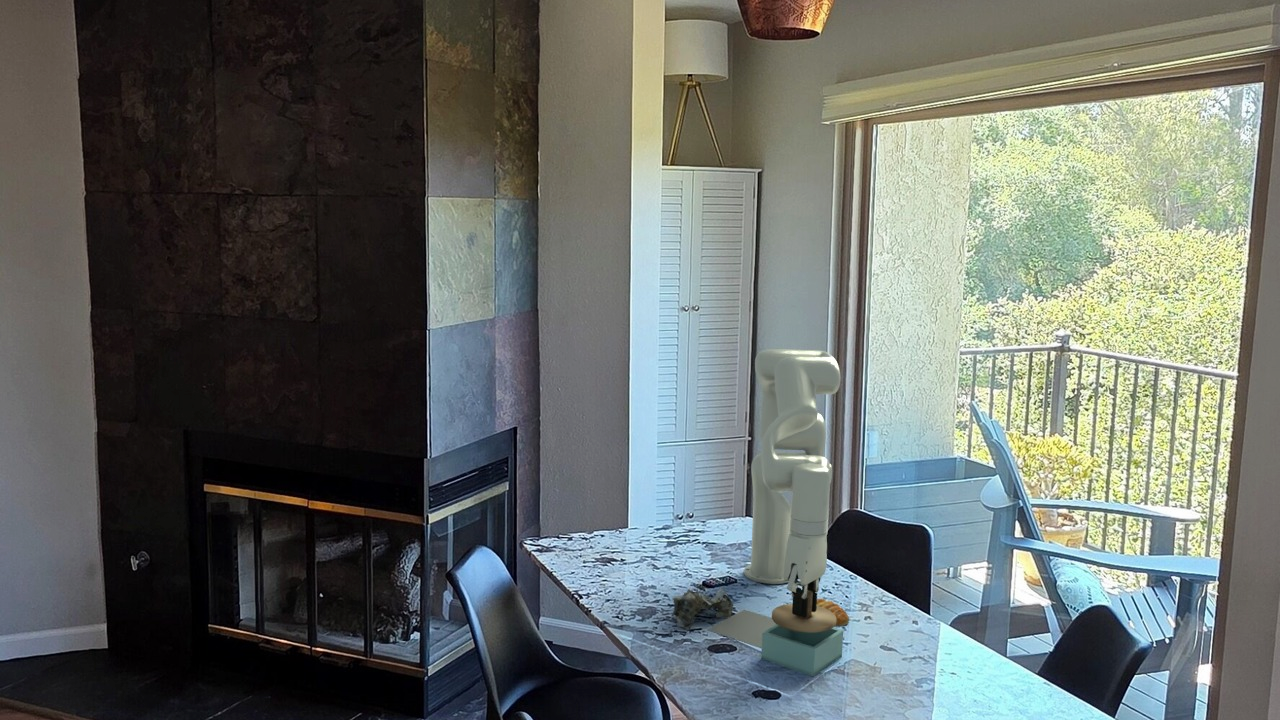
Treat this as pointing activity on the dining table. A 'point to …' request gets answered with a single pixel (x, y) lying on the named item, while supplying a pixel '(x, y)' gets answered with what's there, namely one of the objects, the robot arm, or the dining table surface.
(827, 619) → the lid
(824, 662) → the green square box
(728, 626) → the mat
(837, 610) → the pastry
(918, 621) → the dining table surface
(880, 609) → the dining table surface
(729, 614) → the mottled brown rock
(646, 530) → the dining table surface
